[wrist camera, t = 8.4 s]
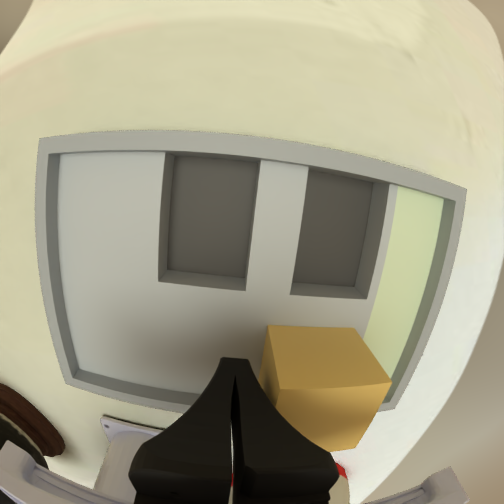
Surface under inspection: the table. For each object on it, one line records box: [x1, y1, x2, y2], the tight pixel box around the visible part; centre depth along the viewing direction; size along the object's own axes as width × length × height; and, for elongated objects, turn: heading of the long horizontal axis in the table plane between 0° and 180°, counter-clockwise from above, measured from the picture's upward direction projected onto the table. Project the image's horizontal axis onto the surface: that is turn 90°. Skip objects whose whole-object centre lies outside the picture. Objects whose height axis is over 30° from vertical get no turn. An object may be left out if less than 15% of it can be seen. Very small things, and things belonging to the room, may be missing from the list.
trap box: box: [35, 130, 467, 413], centre depth 13 cm, size 14×21×3 cm, turn 83°
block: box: [258, 325, 392, 452], centre depth 11 cm, size 4×4×4 cm
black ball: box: [0, 383, 65, 504], centre depth 11 cm, size 13×13×15 cm
